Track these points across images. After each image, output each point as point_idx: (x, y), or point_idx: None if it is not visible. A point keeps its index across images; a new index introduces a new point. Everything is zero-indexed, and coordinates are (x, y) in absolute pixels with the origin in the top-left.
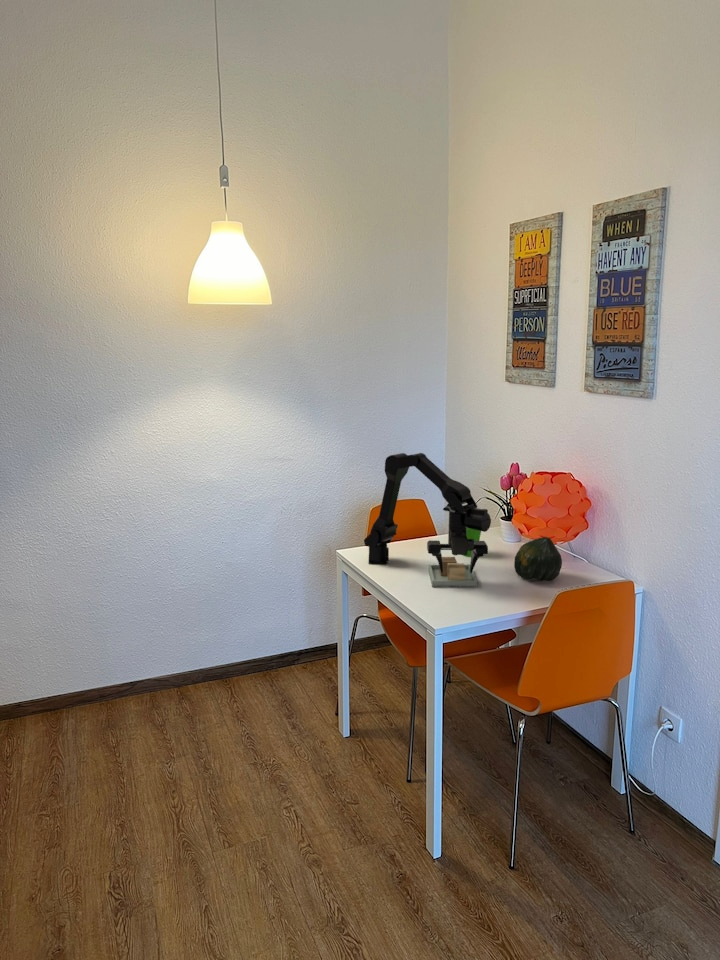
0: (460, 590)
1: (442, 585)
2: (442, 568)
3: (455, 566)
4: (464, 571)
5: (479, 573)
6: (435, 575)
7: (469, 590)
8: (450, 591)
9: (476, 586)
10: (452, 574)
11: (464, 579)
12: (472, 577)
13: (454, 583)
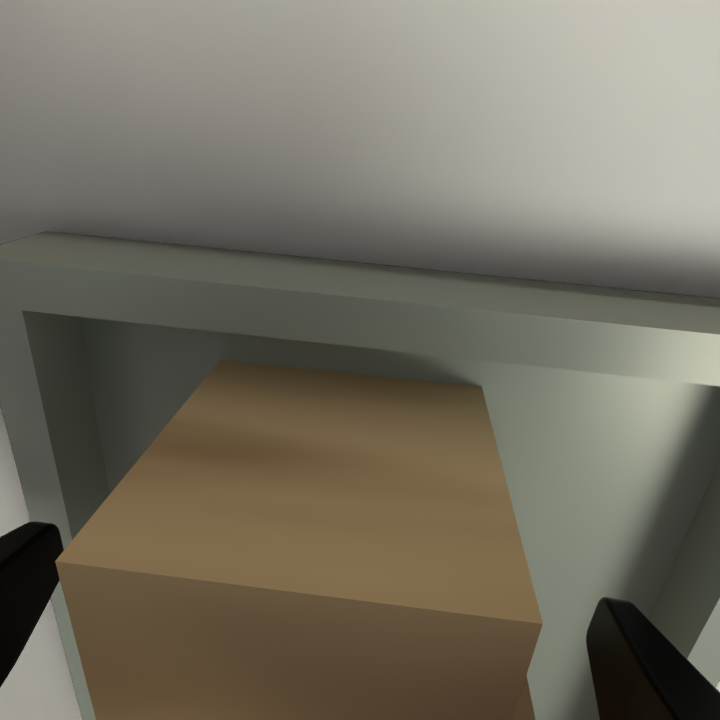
0: (338, 98)
1: (637, 299)
2: (669, 690)
3: (325, 702)
4: (130, 497)
5: (40, 659)
6: (583, 663)
7: (171, 88)
8: (550, 48)
9: (41, 234)
10: (434, 478)
11: (204, 391)
12: (73, 482)
13: (416, 290)
